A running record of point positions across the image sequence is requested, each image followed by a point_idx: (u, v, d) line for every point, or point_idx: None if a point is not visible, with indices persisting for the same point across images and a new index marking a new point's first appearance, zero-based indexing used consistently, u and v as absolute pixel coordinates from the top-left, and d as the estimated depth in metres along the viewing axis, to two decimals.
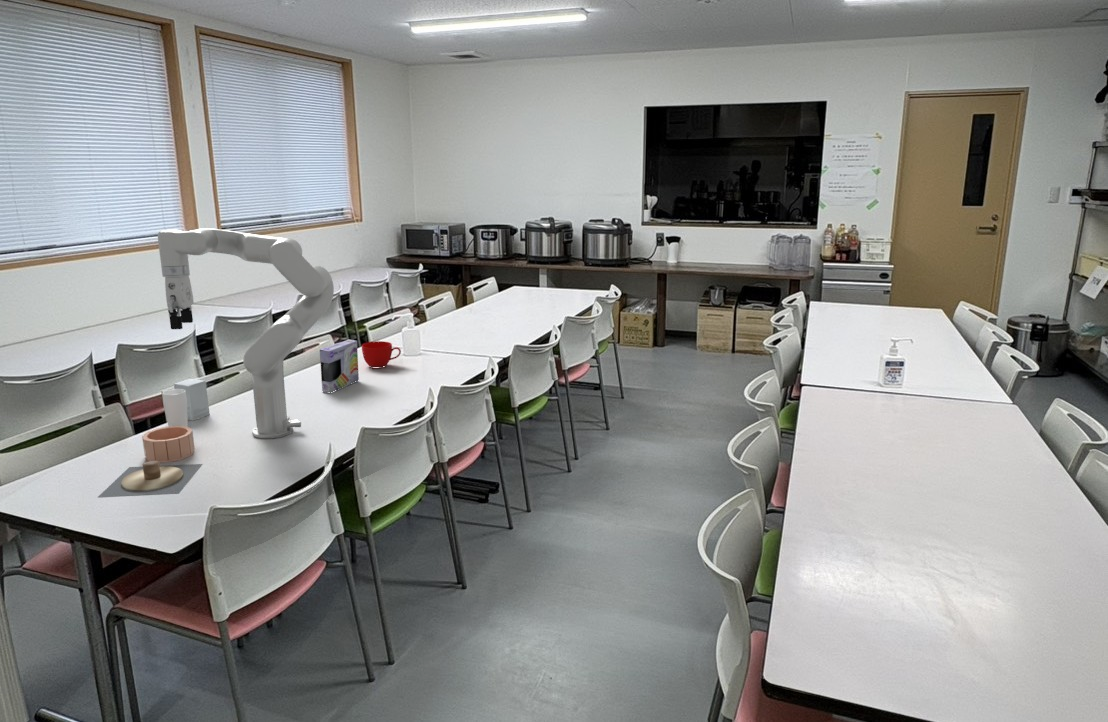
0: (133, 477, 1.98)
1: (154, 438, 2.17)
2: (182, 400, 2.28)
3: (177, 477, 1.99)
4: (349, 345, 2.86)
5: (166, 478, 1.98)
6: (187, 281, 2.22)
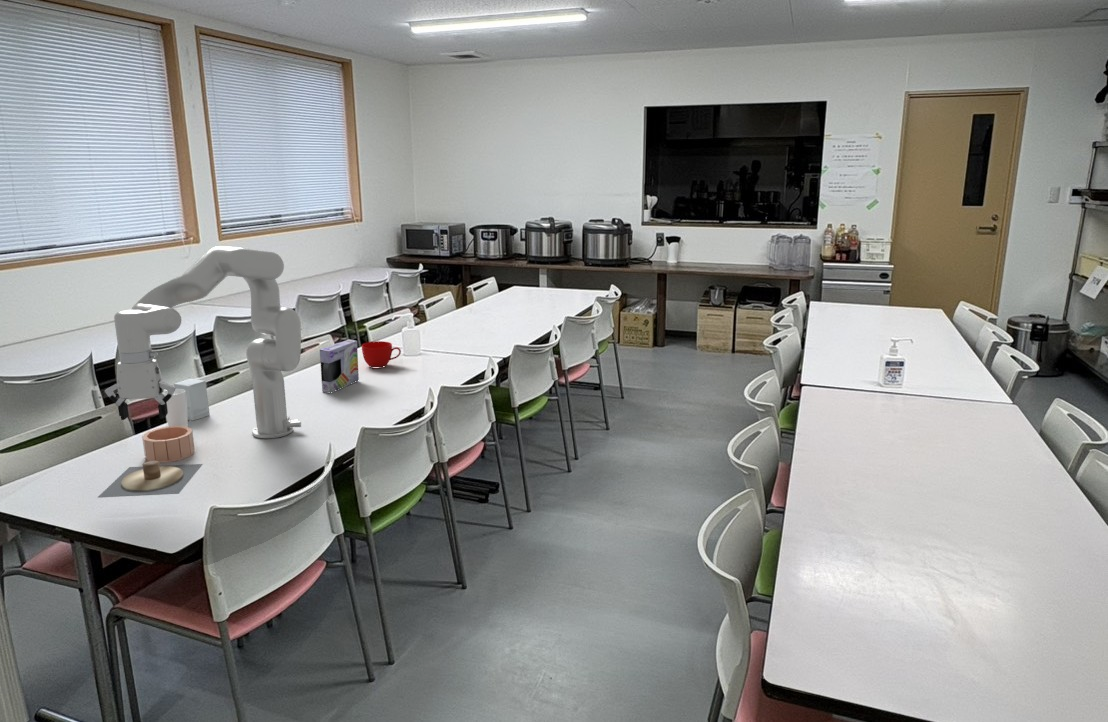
0: (133, 477, 1.98)
1: (154, 438, 2.17)
2: (182, 400, 2.28)
3: (177, 477, 1.99)
4: (349, 345, 2.86)
5: (166, 478, 1.98)
6: None
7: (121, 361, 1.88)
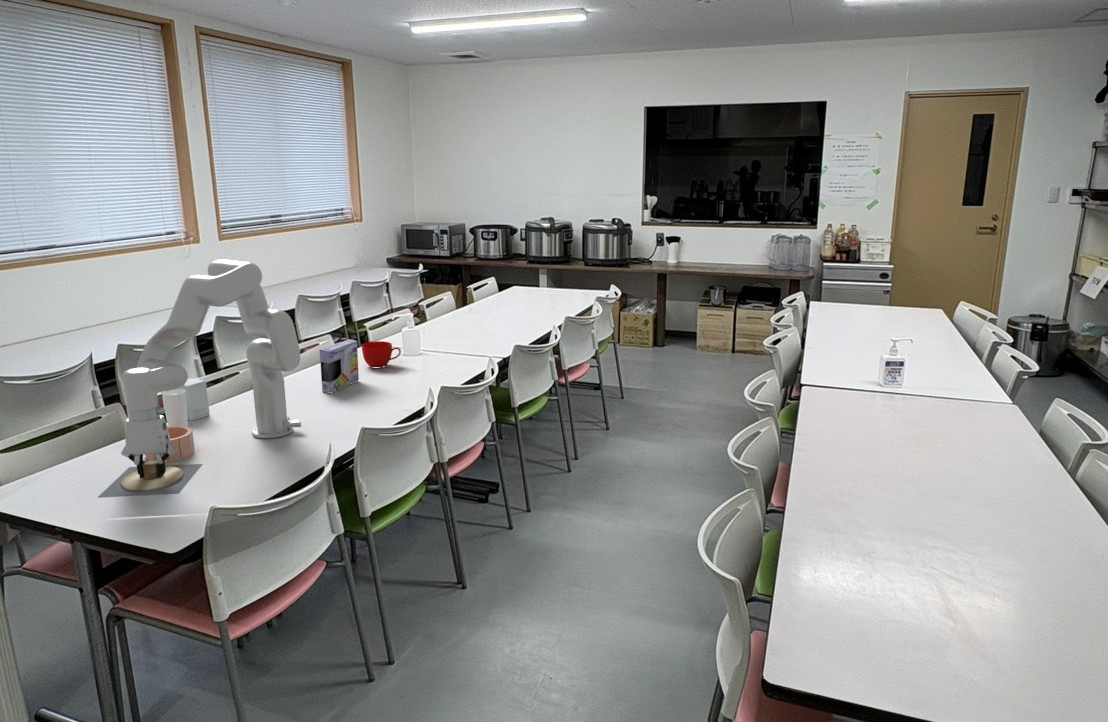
0: (133, 477, 1.98)
1: None
2: (182, 400, 2.28)
3: (177, 477, 1.99)
4: (349, 345, 2.86)
5: (166, 478, 1.98)
6: None
7: (129, 418, 1.91)
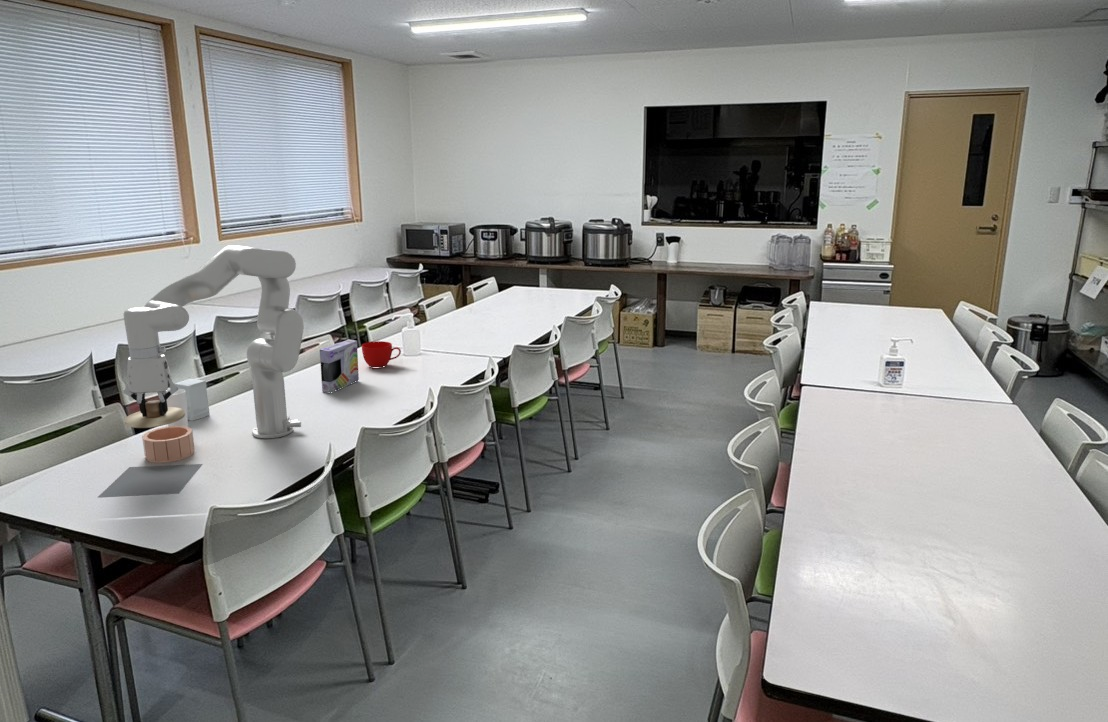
0: (135, 416, 2.02)
1: (154, 438, 2.17)
2: (182, 400, 2.28)
3: (179, 415, 2.03)
4: (349, 345, 2.86)
5: (168, 416, 2.02)
6: None
7: (131, 357, 1.95)
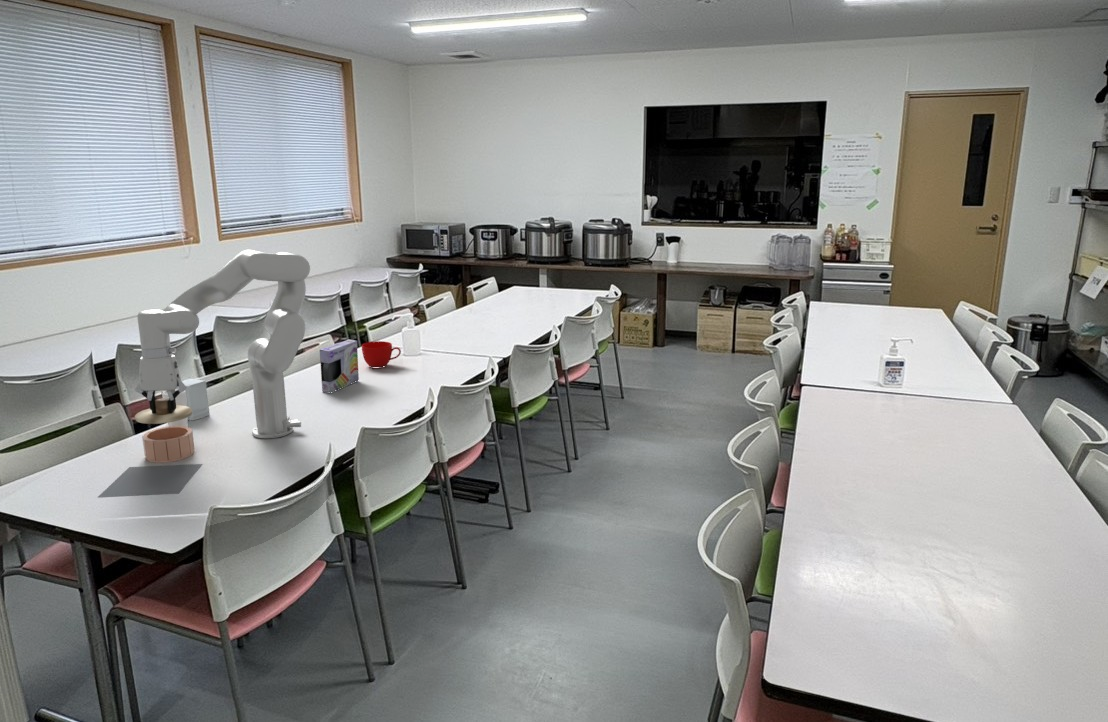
0: (145, 413, 2.13)
1: (154, 438, 2.17)
2: (182, 400, 2.28)
3: (187, 413, 2.14)
4: (349, 345, 2.86)
5: (176, 414, 2.13)
6: None
7: (143, 356, 2.06)
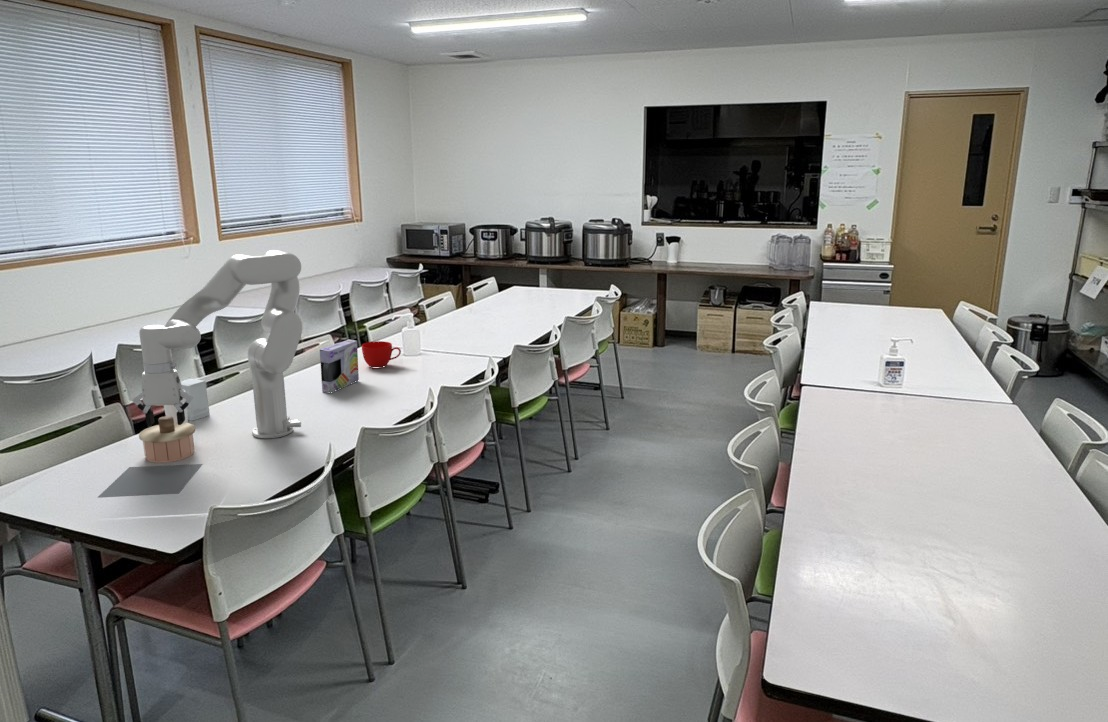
0: (149, 431, 2.14)
1: None
2: (182, 400, 2.28)
3: (190, 431, 2.15)
4: (349, 345, 2.86)
5: (180, 432, 2.14)
6: None
7: (145, 371, 2.07)
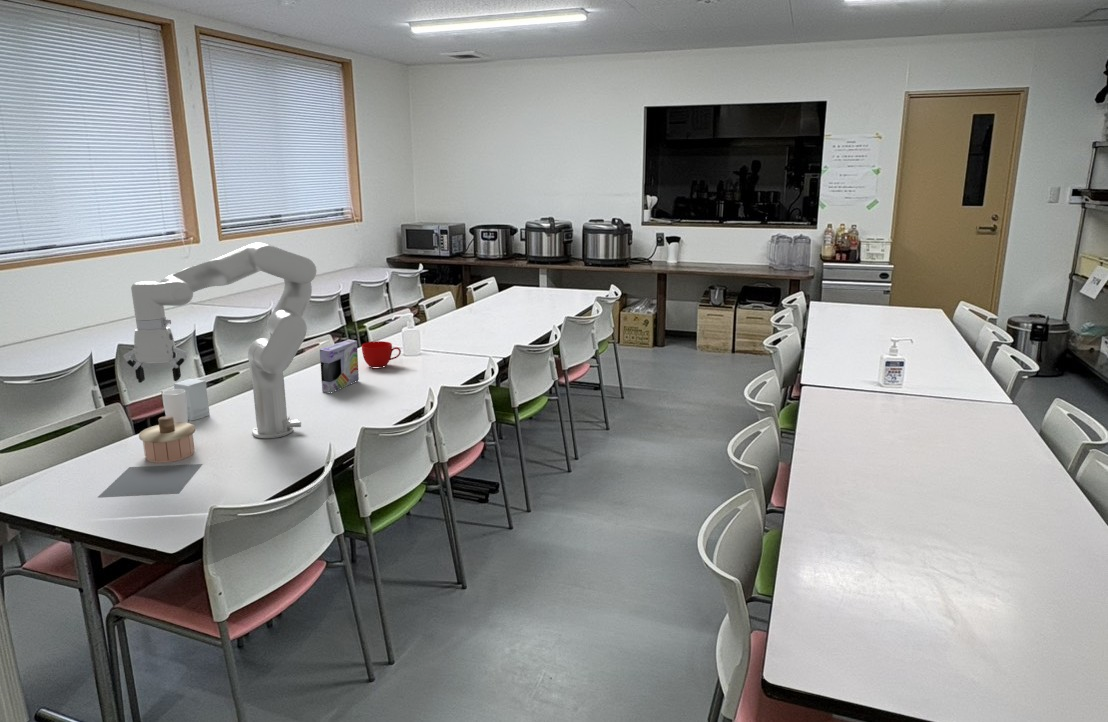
0: (149, 431, 2.14)
1: None
2: (182, 400, 2.28)
3: (190, 431, 2.15)
4: (349, 345, 2.86)
5: (180, 432, 2.14)
6: None
7: (138, 328, 2.05)
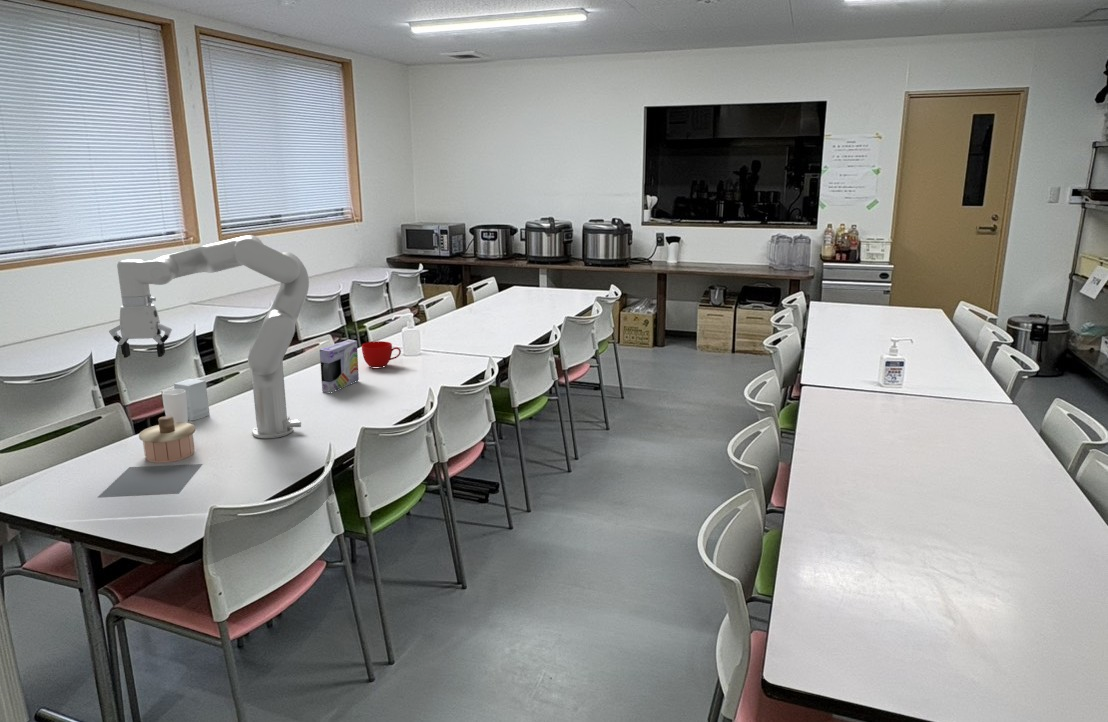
0: (149, 431, 2.14)
1: None
2: (182, 400, 2.28)
3: (190, 431, 2.15)
4: (349, 345, 2.86)
5: (180, 432, 2.14)
6: None
7: (123, 304, 2.12)
